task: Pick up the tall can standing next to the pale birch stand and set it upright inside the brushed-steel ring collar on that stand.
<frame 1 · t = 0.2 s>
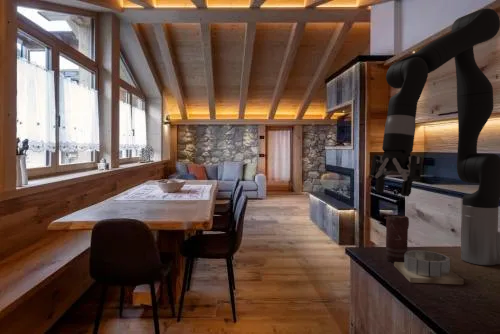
hand: (391, 194, 91), 22 cm above the counter, tool pointing down, fingers open, 8 cm apart
stand: (426, 274, 94), on the counter
can: (396, 261, 106), on the counter
collar: (426, 263, 94), on the stand, point 3 cm above the counter
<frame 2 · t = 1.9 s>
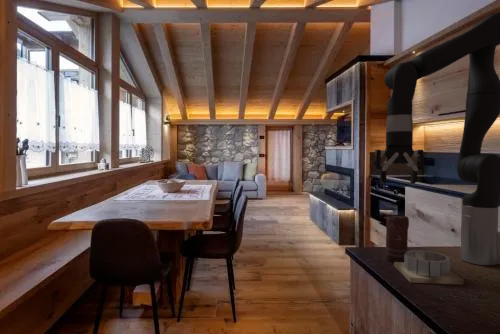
hand: (398, 183, 105), 24 cm above the counter, tool pointing down, fingers open, 8 cm apart
nothing on the counter moved.
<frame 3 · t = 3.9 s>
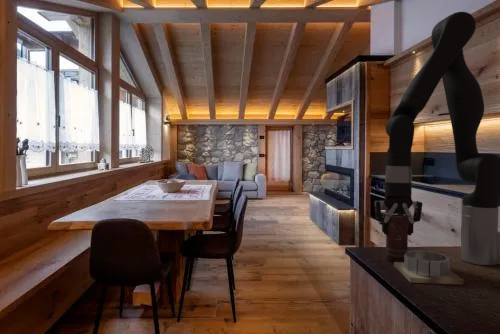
hand: (397, 234, 106), 8 cm above the counter, tool pointing down, fingers closed on can, 6 cm apart
can: (396, 261, 106), on the counter, touching gripper
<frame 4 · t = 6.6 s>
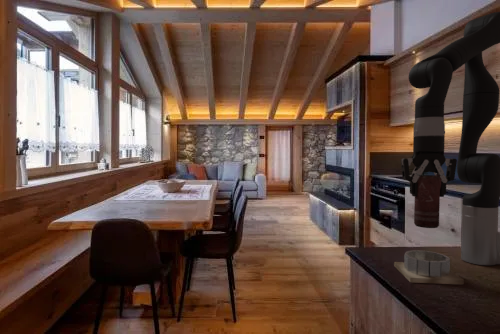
hand: (427, 196, 93), 22 cm above the counter, tool pointing down, fingers closed on can, 6 cm apart
can: (426, 226, 93), point 13 cm above the counter, touching gripper
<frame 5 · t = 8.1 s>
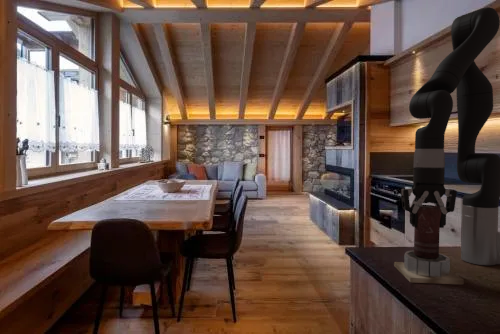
hand: (427, 226, 93), 13 cm above the counter, tool pointing down, fingers closed on can, 6 cm apart
can: (426, 257, 93), point 5 cm above the counter, touching gripper
when the fingers open (11 cm above the counter, at t = 9.2 s): can drops 1 cm, resting on stand.
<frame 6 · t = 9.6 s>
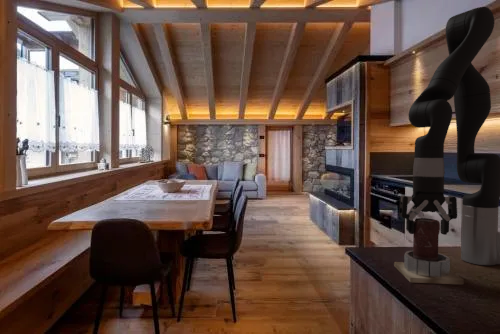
hand: (427, 233, 93), 11 cm above the counter, tool pointing down, fingers open, 8 cm apart
can: (425, 270, 94), point 1 cm above the counter, touching stand
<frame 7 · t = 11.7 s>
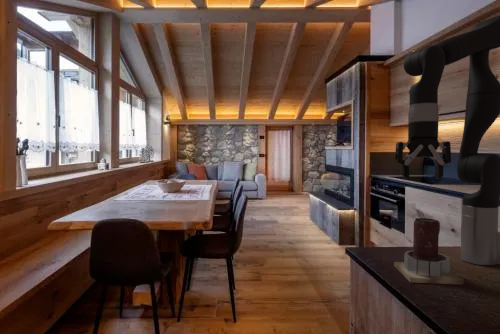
hand: (422, 178, 96), 26 cm above the counter, tool pointing down, fingers open, 8 cm apart
nothing on the counter moved.
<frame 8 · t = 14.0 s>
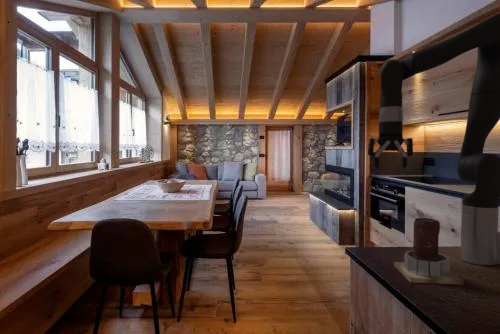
hand: (389, 168, 117), 28 cm above the counter, tool pointing down, fingers open, 8 cm apart
nothing on the counter moved.
at the end: can 0.2 cm off-centre on the collar, point 1.0 cm above the collar's base; can tilted 0°; the gripper is holding nothing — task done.
